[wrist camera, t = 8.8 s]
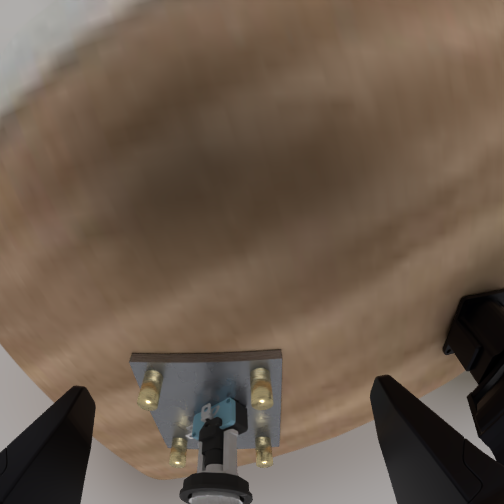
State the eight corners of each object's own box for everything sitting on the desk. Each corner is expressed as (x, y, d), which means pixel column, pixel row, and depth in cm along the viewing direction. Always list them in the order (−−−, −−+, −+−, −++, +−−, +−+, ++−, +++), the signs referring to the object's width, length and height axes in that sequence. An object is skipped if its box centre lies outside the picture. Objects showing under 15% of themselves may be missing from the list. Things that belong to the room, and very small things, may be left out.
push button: (208, 435, 28) (204, 524, 19) (167, 412, 26) (153, 507, 17) (260, 411, 26) (268, 511, 17) (219, 384, 25) (215, 495, 16)
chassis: (280, 349, 24) (286, 387, 21) (278, 439, 30) (281, 469, 27) (132, 353, 24) (119, 389, 21) (169, 440, 30) (165, 470, 27)
